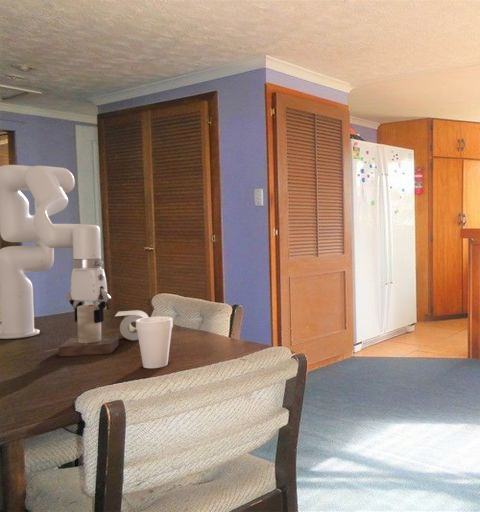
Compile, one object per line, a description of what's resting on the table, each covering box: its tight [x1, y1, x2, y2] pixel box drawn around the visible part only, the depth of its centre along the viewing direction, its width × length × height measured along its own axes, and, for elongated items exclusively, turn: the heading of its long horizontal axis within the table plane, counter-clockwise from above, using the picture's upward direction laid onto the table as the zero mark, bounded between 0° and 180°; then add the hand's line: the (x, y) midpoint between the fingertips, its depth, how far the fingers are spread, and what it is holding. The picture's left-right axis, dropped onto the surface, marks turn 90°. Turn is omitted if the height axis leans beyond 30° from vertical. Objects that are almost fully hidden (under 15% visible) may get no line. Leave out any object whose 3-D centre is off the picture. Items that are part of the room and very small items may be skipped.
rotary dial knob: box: [76, 303, 102, 343], centre depth 164 cm, size 6×6×11 cm
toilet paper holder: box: [114, 309, 150, 341], centre depth 184 cm, size 12×9×15 cm
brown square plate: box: [58, 335, 120, 357], centre depth 165 cm, size 14×12×3 cm
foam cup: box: [135, 316, 174, 369], centre depth 148 cm, size 10×9×13 cm
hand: (89, 321), depth 164 cm, fingers closed on rotary dial knob, 6 cm apart
